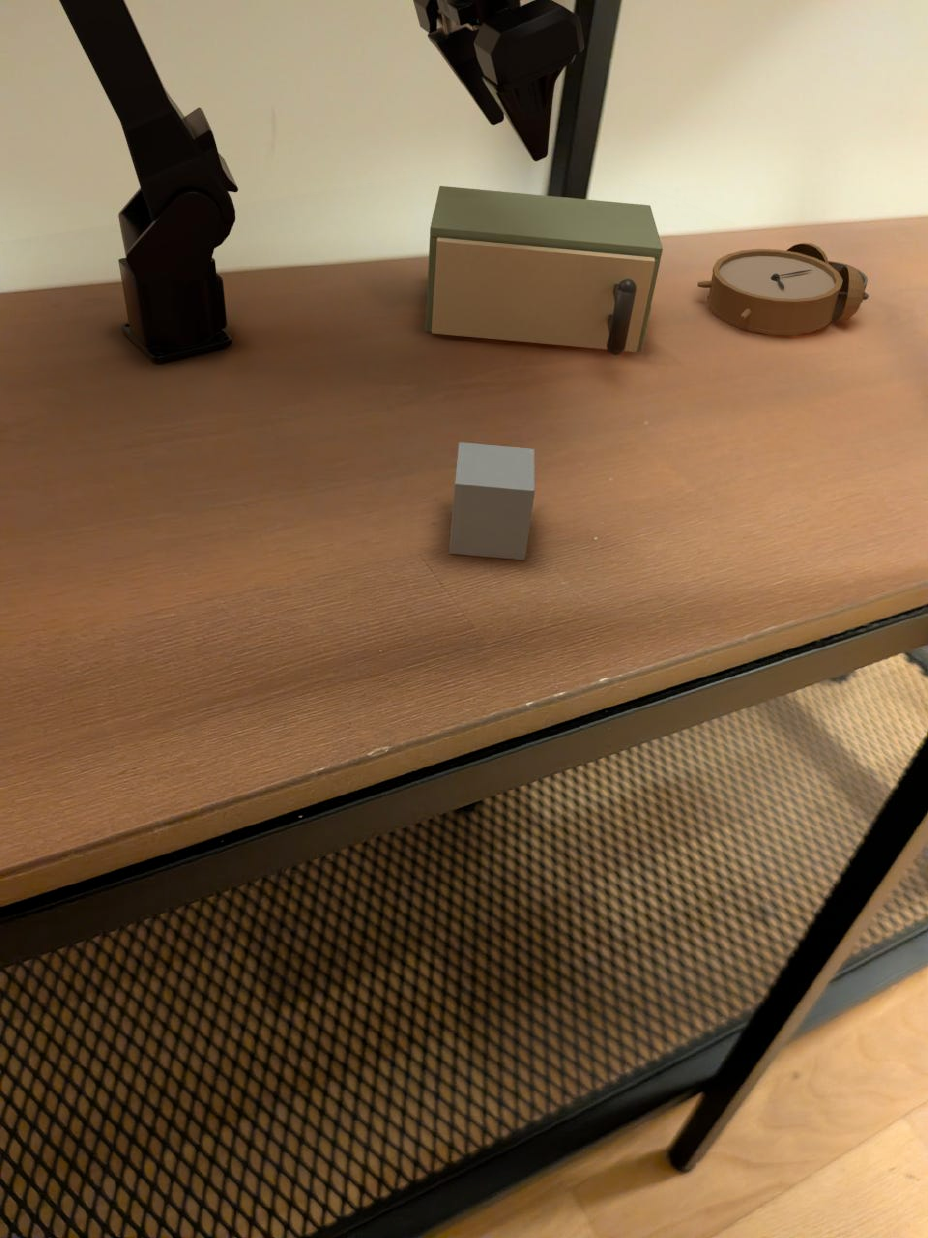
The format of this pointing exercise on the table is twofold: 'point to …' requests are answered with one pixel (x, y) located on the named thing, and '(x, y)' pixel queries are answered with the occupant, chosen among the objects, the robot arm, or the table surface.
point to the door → (540, 294)
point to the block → (492, 501)
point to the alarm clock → (784, 290)
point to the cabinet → (543, 228)
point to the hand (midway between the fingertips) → (518, 139)
